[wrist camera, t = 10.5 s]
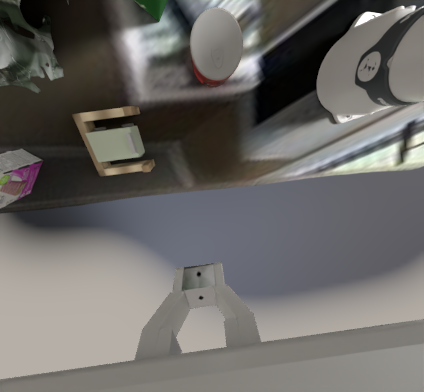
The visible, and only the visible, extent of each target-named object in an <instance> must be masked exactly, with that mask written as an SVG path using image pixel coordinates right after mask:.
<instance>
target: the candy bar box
mask: <svg viewBox="0 0 424 392" xmlns="http://www.w3.org/2000/svg"><path fill="white" fill-rule="evenodd" d="M42 162H43V160H42V159H40V158H38V157H36V156H34V155H32V154H31V153H29V152H27V151H25V150H23V149H16V150H12V151H7V152H3V153H0V209H1V208H3V207H5V206H7V205H9V204H11V203H12V202H15V201H16V200H18V199H20V198H22V197H24V196H26V195H28V194H30V193H31V191H32V188H33V186H34V183H35V180H36V178H37V175H38V173H39V170H40V167H41V165H42Z"/></svg>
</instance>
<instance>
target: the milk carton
mask: <svg viewBox="0 0 424 392" xmlns="http://www.w3.org/2000/svg"><path fill="white" fill-rule="evenodd" d="M134 1H135V2H136V3H137V4H138V5H139V6H141V7H142V8H143V9H144V10H145V11H147V12H148V13H149V14H150V15H151V16H152V17H154V18H155V19H156V20H157V21H158V22H159V21H160V18H161V16H162V13H163V10H164V8H165V5H166V3H167V0H134Z"/></svg>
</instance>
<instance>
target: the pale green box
mask: <svg viewBox="0 0 424 392" xmlns="http://www.w3.org/2000/svg"><path fill="white" fill-rule="evenodd" d="M85 134H86V136H87V138H88V141H89V143H90V145H91V147H92V150H93V152H94V154H95V156H96V159H97V161H98V162H105V161H107V162H112V161H116V160H120V159H128V158H140V157H143V154H144V153H145V150H144V146H143V143H142V140H141V137H140V133H139V130H138V127H137V126H134V124H133V123H129V124H123V125H122V128H115V129H107V128H106V127H100V128H94V132H90V133H85Z"/></svg>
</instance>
